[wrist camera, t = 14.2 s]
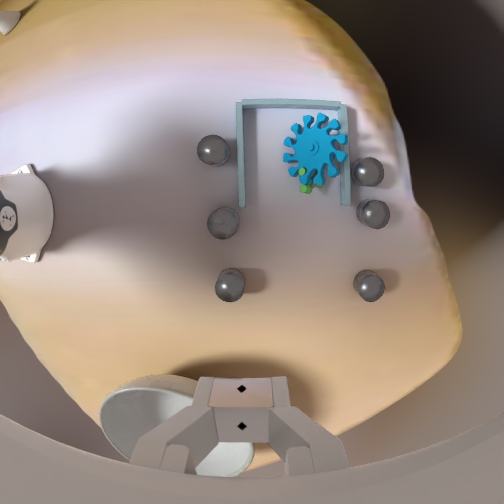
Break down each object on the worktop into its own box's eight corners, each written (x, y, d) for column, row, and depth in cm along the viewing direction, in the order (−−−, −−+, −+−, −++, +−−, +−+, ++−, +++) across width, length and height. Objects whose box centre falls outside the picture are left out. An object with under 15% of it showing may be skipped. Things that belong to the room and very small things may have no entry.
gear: (291, 107, 36) (353, 118, 29) (314, 119, 40) (371, 132, 33) (269, 180, 39) (327, 203, 33) (295, 184, 44) (348, 207, 37)
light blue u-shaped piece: (239, 206, 40) (238, 207, 38) (236, 103, 37) (235, 99, 35) (346, 204, 40) (350, 205, 38) (342, 105, 37) (346, 102, 35)
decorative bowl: (99, 358, 47) (70, 394, 35) (223, 328, 45) (213, 372, 33) (162, 446, 53) (150, 483, 41) (272, 430, 50) (275, 475, 39)
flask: (2, 26, 29) (-19, 17, 20) (21, 8, 29) (0, -5, 19) (3, 40, 31) (-21, 30, 21) (22, 20, 30) (-1, 8, 20)
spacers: (210, 299, 44) (206, 308, 40) (201, 140, 38) (196, 136, 35) (374, 292, 43) (383, 300, 40) (378, 141, 38) (388, 138, 34)
